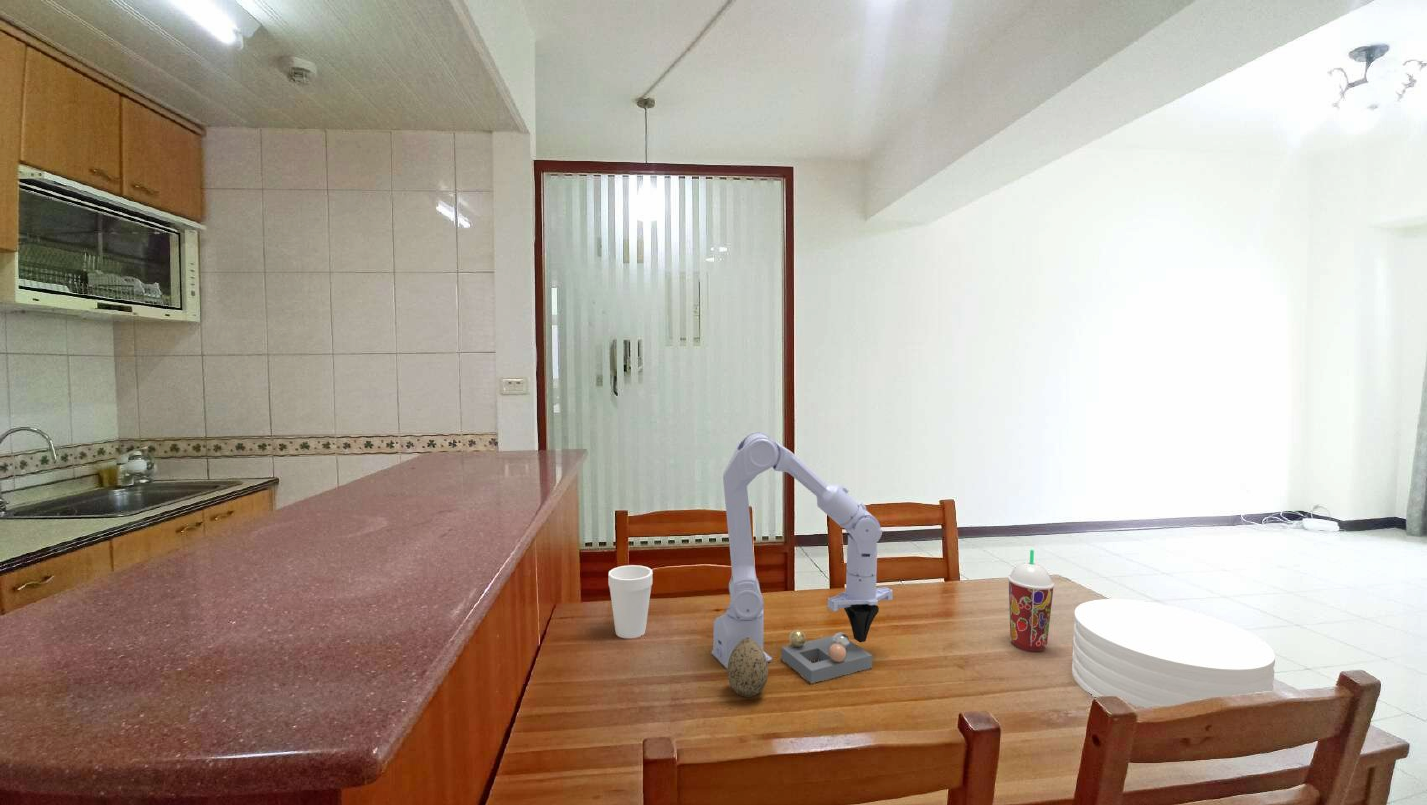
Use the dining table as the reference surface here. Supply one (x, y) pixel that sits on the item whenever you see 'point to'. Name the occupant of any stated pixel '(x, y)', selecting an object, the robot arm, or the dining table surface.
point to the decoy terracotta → (837, 652)
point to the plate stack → (1165, 654)
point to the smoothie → (1030, 605)
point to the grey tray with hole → (825, 660)
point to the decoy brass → (797, 638)
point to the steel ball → (841, 639)
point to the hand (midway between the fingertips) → (859, 640)
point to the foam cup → (630, 599)
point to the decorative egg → (747, 668)
